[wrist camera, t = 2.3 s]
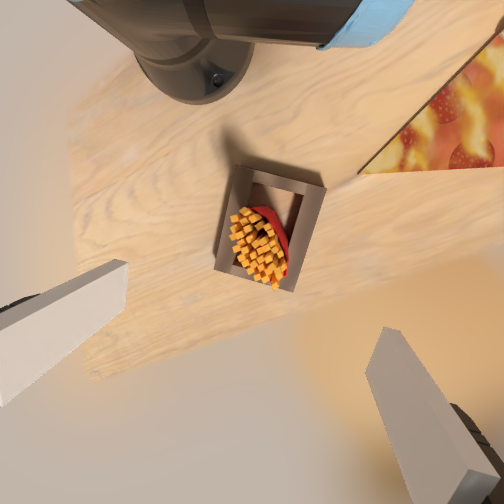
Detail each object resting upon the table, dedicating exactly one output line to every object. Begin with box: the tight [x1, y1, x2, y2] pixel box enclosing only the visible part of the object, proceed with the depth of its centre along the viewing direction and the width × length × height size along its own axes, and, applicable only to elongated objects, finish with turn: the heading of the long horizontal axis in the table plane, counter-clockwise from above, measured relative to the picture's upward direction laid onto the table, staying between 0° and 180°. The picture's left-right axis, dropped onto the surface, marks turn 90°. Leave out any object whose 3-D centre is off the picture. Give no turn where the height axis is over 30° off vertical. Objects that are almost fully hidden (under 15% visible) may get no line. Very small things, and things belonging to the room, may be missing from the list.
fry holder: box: [214, 165, 327, 292], centre depth 38 cm, size 12×15×2 cm
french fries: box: [229, 206, 289, 290], centre depth 33 cm, size 9×4×13 cm, turn 27°
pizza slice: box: [358, 29, 504, 175], centre depth 32 cm, size 16×22×2 cm
